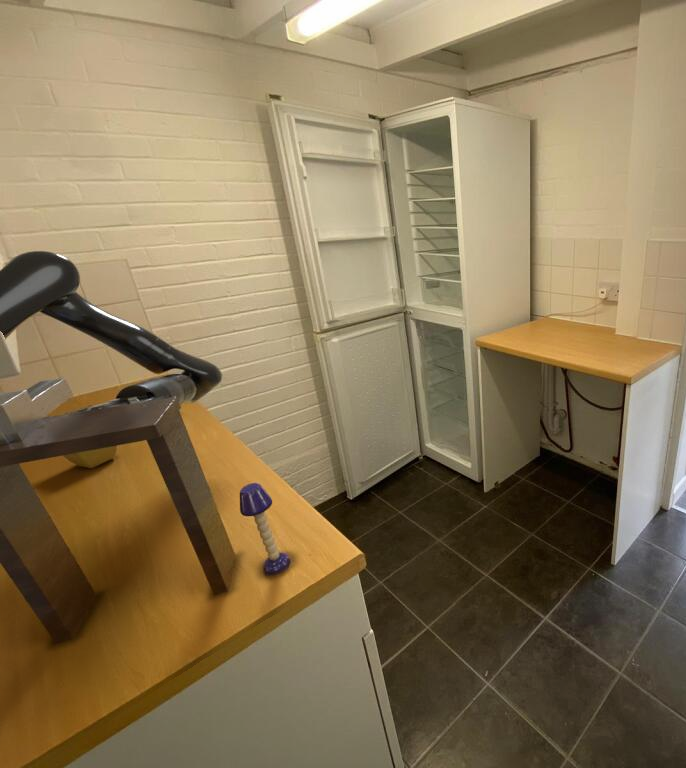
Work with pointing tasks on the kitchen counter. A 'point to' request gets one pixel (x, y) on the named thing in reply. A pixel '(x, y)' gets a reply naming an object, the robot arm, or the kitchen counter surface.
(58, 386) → the silver stand
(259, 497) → the toy lamp
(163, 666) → the kitchen counter surface
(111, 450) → the flower pot
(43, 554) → the dark brown arch frame
